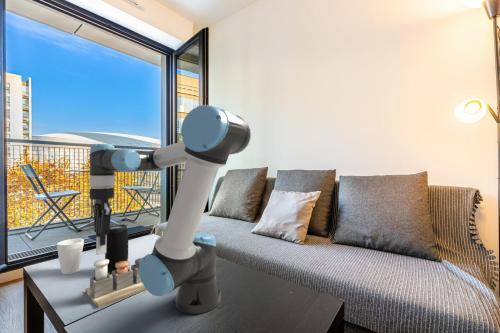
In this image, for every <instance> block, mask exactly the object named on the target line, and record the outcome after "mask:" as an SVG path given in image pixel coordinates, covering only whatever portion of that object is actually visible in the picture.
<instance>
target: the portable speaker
mask: <svg viewBox="0 0 500 333" xmlns="http://www.w3.org/2000/svg"><path fill="white" fill-rule="evenodd" d="M104 259H108V260H109V264H107V272H108V273H109V274H110V275H112V271H114V270H117V268H116V263H118V262H121V261H129V234H128V225H127V224H119V225H110V228H109V234H108V235H106V253H104Z"/></svg>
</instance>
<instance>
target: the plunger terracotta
mask: <svg viewBox="0 0 500 333" xmlns="http://www.w3.org/2000/svg"><path fill="white" fill-rule="evenodd" d="M129 266H130V261H129V260H128V261H121V262H118V263H116V268H117V274H118V275H119V274H122V273H126V272H128V267H129Z"/></svg>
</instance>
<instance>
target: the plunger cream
mask: <svg viewBox="0 0 500 333" xmlns="http://www.w3.org/2000/svg"><path fill="white" fill-rule="evenodd" d="M107 264H109V260H108V259H105V258H103V259H102V258H101V259H98V260H95V261H94V262H93V266H94V267H95V271H94V272H95V273H94V274H95V281H96V282H97V281H100V280H103V279H106V278H107Z"/></svg>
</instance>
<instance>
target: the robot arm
mask: <svg viewBox="0 0 500 333" xmlns="http://www.w3.org/2000/svg"><path fill="white" fill-rule="evenodd" d="M251 134H252V133H251V128H250V125H249V124H248V123H247V121H246V120H245V119H244V118H242V116H239V115H236V114H234V113H232V112H230V111H227V110H225V109H222V108H220V107H217V106H213V105H209V104H202V105H198V106H196V107H195V108H193V109H191V110H190V111H188V113H187V114H186V116H185V117H184V119H183V121H182V122H181V128H180V135H181V136H182V137H181V140H182V141H179V142H175V143H173V144H169V145H167V146H163V147H159V148H156V149H153V150H148V151H147V150H135V149H132V148H131V149H130V148H119V149H116V148H115V145H114V144H109V143H108V144H107V143H93V144H91V145H90V149H89V156H88V157H89V182H88V183H89V184H88V185H89V187H90V189H89V191H88V192H89V196H88V197H89V199H90V200H94V201H95V202H94V204H93V205H92V211H93V227H94V228H93V231H94V233H95V237H96V239H95V240H96V243H95V244H96V248H95V249H96V255H97V256H100V255H105V253H106V235H108V234H109V228H110V226H111V218H112V217H111V215H112V212H113V209H112V208H110V207H111V205H110V202H109V200H111V199H113V198H115V188H114V186H115V181H116V179H117V178H116V177H115V172H121V173H122V172H123V173H126V172H127V173H130V172H160V171H161V172H162V171H164V170H166V169H167V168H169V167H173V166H177V165H180V164H181V165H182V164H185V163H186V164H185V166H184V170H183V172H182V176H181V179H180V182H179V186H178V187H177V192H176V193H175V197H174V202H173V204H172V207H171V210H170V214H169V217H168V219H167V223H166V226H165V229H164V233H163V235H161V236H159V237H158V238H157V239H156V240H155V242H154V246H153V249H152V252H151V253H148V254H146V255H145V256H143V257H141V258H142V259H141V261H140V264H139V275H140V279H141V281H142V284H143V285H144V287H145V288H146V289H147V290H146V291H147V292H149V294H151V295H153V296H156V297H163V296H165V295H167V294H169V293H172V292H173V291H174V290H176V289H177V288H178V289H177V292H176V295H175V307H176V309H177V310H178V311H180V312H182V313H184V314H190V315H197V314H203V313H207V312H210V311H212V310H213V309H215V308H216V307H218V305H219V304H220V303H221V295H222V294H221V293H222V292H221V289H220V287H219V284H218V280H217V278H216V277H217V276H216V272H217V271H216V270H217V268H216V266H217V262H216V260H217V254H216V253H217V240H216V237H215V235H214V234H212V233H207V232H200V231H199V232H198V230H199V226H200V224H201V221H202V217H203V215H204V211H205V209H206V206H207V203H208V200H209V197H210V194H211V193H212V192H211V191H212V188H213V185H214V183H215V179H216V177H217V174H218V172H219V169H220V168H222V167H224V166H226V165H227V162H228V158H229V156H230V155H235V154H239V153H241V152H242V151H245V149H246V148H247V147H248V145H249V144H250V141H251Z"/></svg>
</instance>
